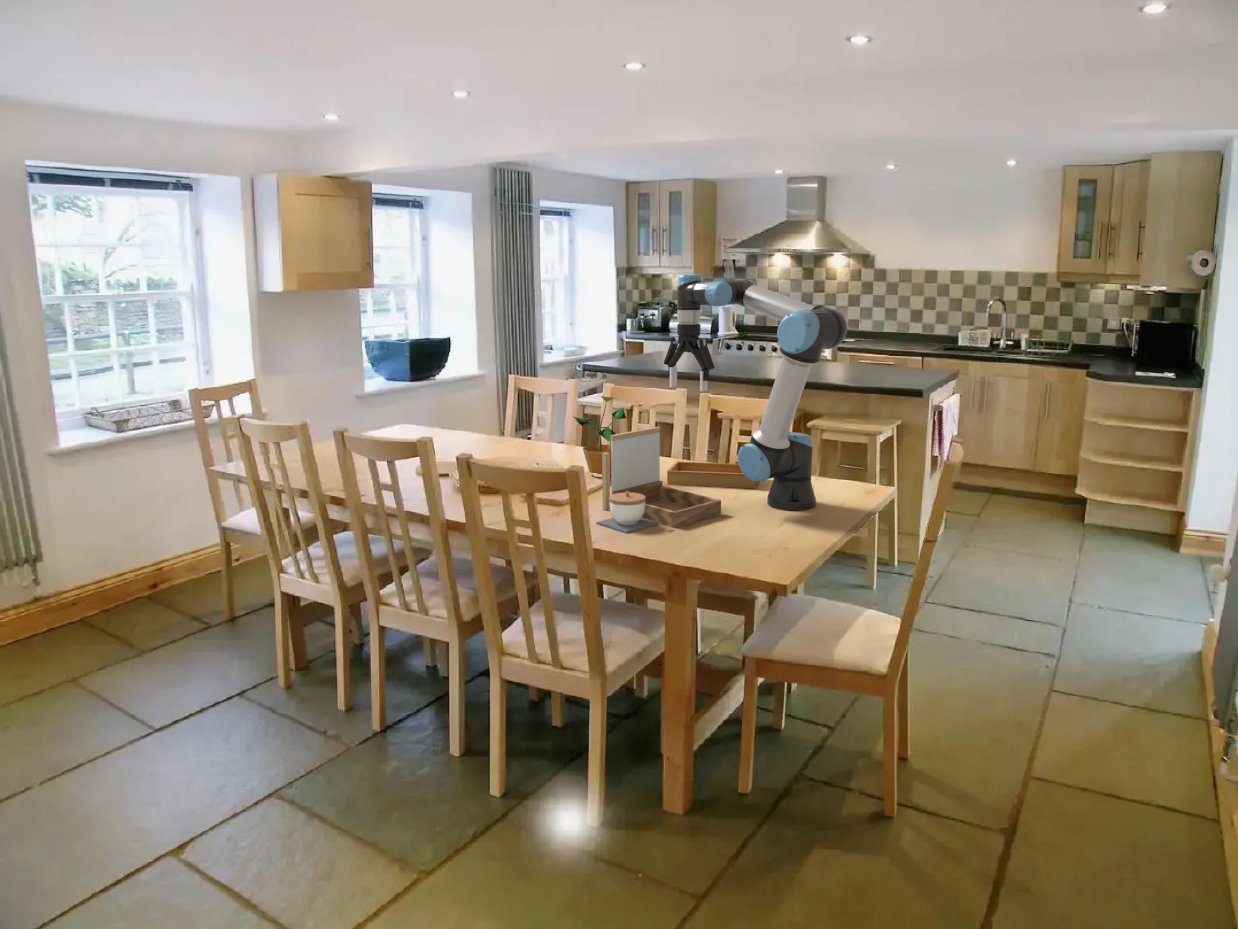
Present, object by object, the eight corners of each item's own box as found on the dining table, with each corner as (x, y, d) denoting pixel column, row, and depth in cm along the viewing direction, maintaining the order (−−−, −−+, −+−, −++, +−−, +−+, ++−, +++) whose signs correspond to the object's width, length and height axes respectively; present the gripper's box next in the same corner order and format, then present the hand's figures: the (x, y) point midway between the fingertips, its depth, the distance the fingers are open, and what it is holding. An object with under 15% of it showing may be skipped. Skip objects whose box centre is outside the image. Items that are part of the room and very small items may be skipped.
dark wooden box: (720, 514, 283) (721, 495, 282) (674, 527, 270) (674, 508, 269) (659, 498, 302) (659, 480, 301) (613, 510, 289) (613, 491, 288)
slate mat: (658, 524, 274) (658, 522, 273) (626, 533, 265) (626, 531, 265) (628, 515, 283) (628, 513, 283) (596, 524, 274) (596, 522, 274)
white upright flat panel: (660, 498, 302) (660, 427, 297) (609, 511, 288) (608, 436, 282) (653, 496, 304) (653, 426, 299) (602, 509, 290) (601, 435, 284)
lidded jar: (604, 519, 277) (604, 488, 275) (637, 515, 281) (637, 485, 278) (616, 529, 267) (616, 497, 265) (651, 525, 271) (651, 494, 269)
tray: (667, 485, 321) (667, 469, 320) (676, 475, 335) (676, 460, 334) (755, 490, 313) (756, 474, 312) (761, 480, 327) (762, 464, 326)
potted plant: (632, 479, 328) (631, 395, 322) (580, 482, 324) (578, 397, 317) (620, 468, 345) (620, 388, 338) (570, 470, 341) (569, 389, 334)
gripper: (726, 324, 292) (724, 391, 296) (669, 320, 310) (669, 383, 314) (710, 325, 287) (709, 393, 291) (653, 321, 305) (653, 385, 309)
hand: (688, 388), depth 303 cm, fingers open, 13 cm apart
